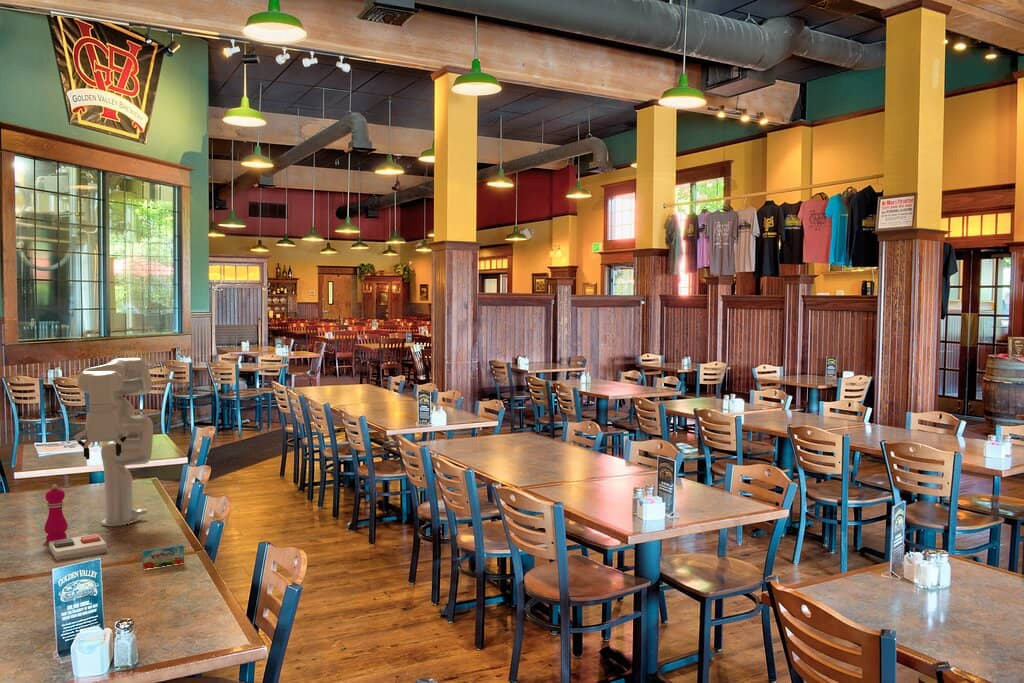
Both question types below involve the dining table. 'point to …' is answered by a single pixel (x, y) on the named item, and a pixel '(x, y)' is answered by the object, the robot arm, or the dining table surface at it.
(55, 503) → the pepper mill
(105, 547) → the switch panel
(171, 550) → the blue printed product box
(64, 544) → the button black
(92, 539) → the button red
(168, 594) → the dining table surface
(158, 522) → the dining table surface
